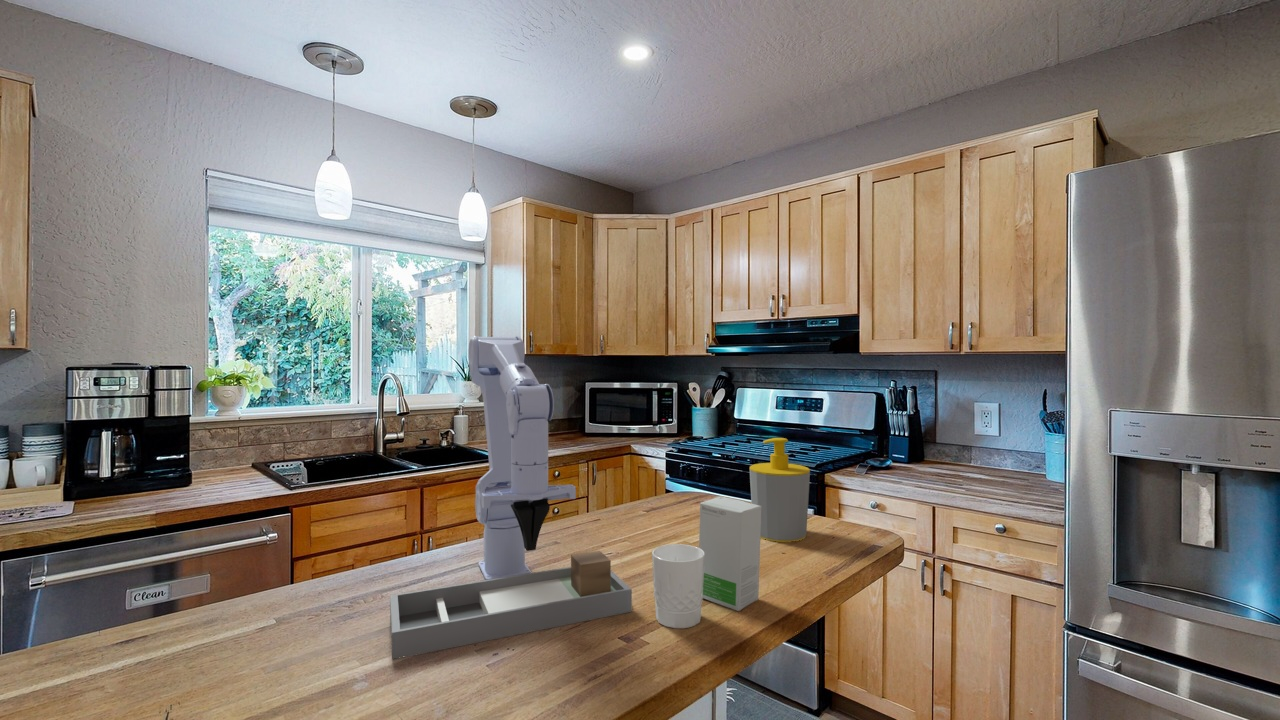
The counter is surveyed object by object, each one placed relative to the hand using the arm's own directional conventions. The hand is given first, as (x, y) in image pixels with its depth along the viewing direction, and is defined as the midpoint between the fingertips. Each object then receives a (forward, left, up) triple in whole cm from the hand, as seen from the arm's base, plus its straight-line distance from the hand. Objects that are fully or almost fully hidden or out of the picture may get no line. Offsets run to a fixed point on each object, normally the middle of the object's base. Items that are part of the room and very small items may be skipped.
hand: (529, 548), depth 90 cm
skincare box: (+10, +30, -10) cm, 33 cm away
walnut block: (+2, +10, -7) cm, 12 cm away
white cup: (+13, +19, -10) cm, 25 cm away
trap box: (+1, -3, -9) cm, 10 cm away
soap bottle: (-14, +59, -10) cm, 62 cm away
